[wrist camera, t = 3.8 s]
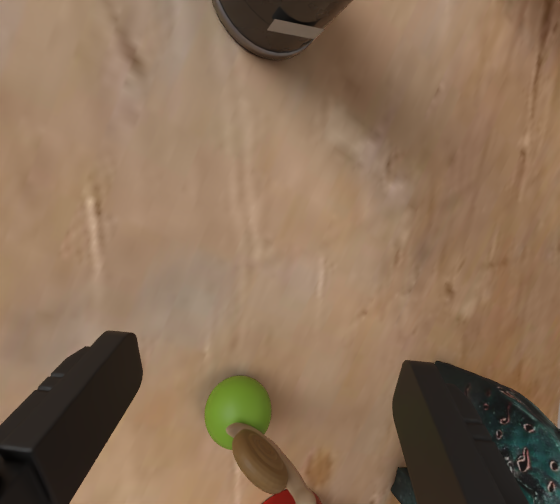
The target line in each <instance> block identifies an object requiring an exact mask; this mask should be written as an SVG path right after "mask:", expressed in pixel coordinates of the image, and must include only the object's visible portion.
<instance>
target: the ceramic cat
mask: <svg viewBox="0 0 560 504" xmlns="http://www.w3.org/2000/svg"><path fill="white" fill-rule="evenodd" d="M435 365H436V366H437V368H438V370H439V372H440V374H441V376H442V378H443V380H444V382H445V383H446V384H455V385H456V386H457V387H458V388H459V389H460V390H461V391H462V392H463V393H464V394H465V395H466V396H467V397H468V398H469V399H470V400H471V401H472V403H473V405H474V407H475V409H476V410H477V412H478V414H479V416H480V417H481V419H482V423H483V425H485V426H486V428H487V430H488V431H489V433H490V435H491V437H492V441H493V442H495V444H496V446H497V447H498V449H499V451H500V453H501V454H502V456H503V458H504V460H505V462H506V463H507V465H508V467H509V469H510V470H511V472H512V474H513V476H514V477H515V479H516V481H517V483H518V485H519V486H520V488H521V490H522V492H523V493H524V495H525V497H526V499H527V500H528V502H529V504H560V429H558V428H557V427H556V426H555V425H554V424H553V423H552V422H551V421H550V420H549V419H548V418H547V417H546V416H545V415H544V414H543V413H542V412H541V411H540V409H539V408H538V407H537V406H535V405H534V404H533V403H532V402H531V401H529V400H528V399H527V398H525V397H524V396H523V395H521V394H520V393H518V392H516V391H515V390H513V389H511V388H508V387H506V386H504V385H501V384H499V383H497V382H495V381H493V380H490V379H487V378H484V377H482V376H479V375H477V374H474V373H472V372H469V371H466V370H464V369H461V368H458V367H455V366H453V365H451V364H448V363H442V362H439V361H436V362H435ZM391 491H392V493H393V494H394V496H395V497H396V498H397V499H398V501H399V502H400V503H401V504H417V501H416V498H415V494H414V491H413V487H412V483H411V480H410V476H409V473H408V469H407V468H399V467H398V470H397V474H396V479H395V482H394V484H393V486H392V489H391Z"/></svg>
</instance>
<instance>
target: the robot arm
mask: <svg viewBox="0 0 560 504" xmlns="http://www.w3.org/2000/svg"><path fill="white" fill-rule="evenodd" d="M352 1H353V0H212V3H213V5H214V8H215V10H216V12H217V15H218V17H219V18H220V20H221V22H222V23H223V25H224V27H225V28H226V29H227V31H228V32H229V33H230V34H231V36H232V37H233V38H234V39H235V40H236V41H237V42H238V43H239V44H241V45H242V46H243V47H244V48H246V49H247V50H249V51H250V52H252V53H254V54H256V55H258V56H261V57H264V58H267V59H274V60H282V59H287V58H291V57H293V56H295V55H297V54H299V53H300V52H302V51H303V50H304V49H305V48H306V47H307V46H308V45H309V44H310V43H311V42H312V41H313V40H314V39H315V38H316V37H317V36H318V35H319V34H321V33H322V32H323V31H324V30H325V29H324V28H325V27H326V26H327V25H328V24H329V23H330V22H331V21H332V20H333V19H334V18H335V17H336V16H337V15H338V14H339V13H341V12H342V11H343V10H344V9H345V8H346V7H347V6H348V5H349V4H350V3H351V2H352ZM142 376H143V370H142V364H141V359H140V353H139V348H138V342H137V338H136V335H135V334H134V333H129V332H119V331H106V332H104V333H103V334H102V335H101V336H100V337H99V338H98V339H97V340H96V341H95V342H94V344H93V345H92V346H91V347H86V346H85V347H84V348H82V349H81V350H79V351H77V352H76V353H74V354H73V355H71V356H69V357H68V358H66V359H65V360H64V361H63V362H62V363H61V364H60V365H59V366H58V367H57V368H56V369H55V370H54V371H53V372H52V373H51V376H50V377H47V378H46V379H45V380H44V382H43V383H42V384H41V385H40V386H39V387H38V390H35V391H34V392H33V393H32V394H31V395H30V396H29V397H28V398H27V399H26V400H25V401H24V402H23V403H22V404H21V405H20V406H19V407H18V408H17V409H16V410H15V411H14V412H13V413H12V414H11V415H10V416H9V417H8V418H7V419H6V420H5V421H4V422H3V423H2V424H1V425H0V504H69V503H70V501H71V500H72V498H73V496H74V495H75V493H76V491H77V490H78V488H79V487H80V485H81V483H82V482H83V480H84V478H85V477H86V475H87V474H88V472H89V470H90V469H91V467H92V465H93V464H94V462H95V460H96V459H97V457H98V456H99V454H100V452H101V451H102V449H103V447H104V446H105V444H106V442H107V441H108V439H109V438H110V436H111V434H112V433H113V431H114V429H115V428H116V426H117V425H118V423H119V421H120V420H121V418H122V416H123V415H124V413H125V411H126V410H127V408H128V407H129V405H130V403H131V402H132V400H133V398H134V397H135V395H136V393H137V392H138V390H139V387H140V385H141V381H142ZM392 410H393V418H394V422H395V426H396V429H397V433H398V437H399V440H400V444H401V447H402V451H403V455H404V458H405V462H406V465H407V469H408V473H409V476H410V480H411V483H412V487H413V491H414V494H415V498H416V501H417V504H529V502H528V500H527V499H526V497H525V495H524V493H523V492H522V490H521V488H520V486H519V485H518V483H517V481H516V479H515V477H514V476H513V474H512V472H511V470H510V469H509V467H508V465H507V463H506V462H505V460H504V458H503V456H502V454H501V453H500V451H499V449H498V447H497V446H496V444H495V442H493V441H492V437H491V435H490V433H489V431H488V430H487V428H486V426H485V425H483V423H482V419H481V417H480V416H479V414H478V412H477V410H476V409H475V407H474V405H473V403H472V401H471V400H470V399H469V398H468V397H467V396H466V395H465V394H464V393H463V392H462V391H461V390H460V389H459V388H458V387H457V386H456V385H455V384H446V383H445V382H444V380H443V378H442V376H441V374H440V372H439V370H438V368H437V366H436V365H435V364H434V363H431V362H421V361H410V360H405V361H404V362H403V364H402V368H401V371H400V375H399V378H398V382H397V385H396V389H395V392H394V396H393V403H392Z"/></svg>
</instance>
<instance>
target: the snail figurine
mask: <svg viewBox="0 0 560 504" xmlns="http://www.w3.org/2000/svg"><path fill="white" fill-rule="evenodd" d="M270 419H271V402H270V398H269V396H268V393H267V391H266V390H265V388H264V387H263V386H262V385H261V384H260V383H259V382H258V381H256V380H255V379H253V378H251V377H247V376H233V377H230V378H227V379H225V380H223V381H222V382H220V383H219V384H218V385H217V386H216V387H215V388H214V389H213V391H212V392H211V394H210V396H209V398H208V400H207V403H206V407H205V424H206V427H207V430H208V432H209V434H210V436H211V437H212V439H213V440H214V441H215V442H216V443H217V444H218V445H220V446H222V447H224V448H226V449H229V450H233V455H234V457H235V460H236V462H237V464H238V466H239V467H240V469H241V470H242V472H243V473H244V474H245V476H246V477H247V478H248V479H249V480H250V481H251V482H252V483H253V484H254V485H255V486H256V487H258V488H259V489H261V490H262V491H264V492H267V493H270V494H277V493H280V492H281V491H282V490H283V489H284V488H285V487H286V488H287V490H288V491H289V492H290V493H291V495H292V496H293V498H294V500H295V503H296V504H317V503H316V498H315V495H314V494H313V492H312V491H311V490H310V489H309V488H308V487H307V486H306V485H305V483H304V481H303V479H302V477H301V476H300V474H299V472H298V471H297V469H296V468H295V467H294V465H293V464H292V463H291V461H290V460H289V459H288V458H287V457H286V455H285V454H284V453H283V452H282V451H281V450H280V448H279V447H278V446H277V445H276V444H275V443H274V442H273V441H272V440H270V439H269V438H267V437H266V436H265V435H264V434H265V432H266V430H267V428H268V426H269V423H270Z"/></svg>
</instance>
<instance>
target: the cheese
mask: <svg viewBox="0 0 560 504" xmlns="http://www.w3.org/2000/svg"><path fill="white" fill-rule="evenodd" d="M313 494H314V495H315V498H316V503H317V504H322V503H321V501H320V499H319V498H318V496H317V495H316V494H315V493H314V492H313ZM262 504H296V503H295V500H294V498H293V496H292V495H291V493H290V492H289V491H288V490H284V491H281V492H280V493H277V494H275V495H273V496H272V497H270V498H269V499H267V500H266V501H265V502H264V503H262Z"/></svg>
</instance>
